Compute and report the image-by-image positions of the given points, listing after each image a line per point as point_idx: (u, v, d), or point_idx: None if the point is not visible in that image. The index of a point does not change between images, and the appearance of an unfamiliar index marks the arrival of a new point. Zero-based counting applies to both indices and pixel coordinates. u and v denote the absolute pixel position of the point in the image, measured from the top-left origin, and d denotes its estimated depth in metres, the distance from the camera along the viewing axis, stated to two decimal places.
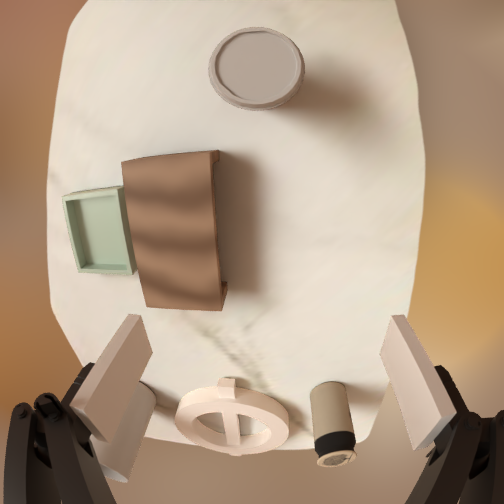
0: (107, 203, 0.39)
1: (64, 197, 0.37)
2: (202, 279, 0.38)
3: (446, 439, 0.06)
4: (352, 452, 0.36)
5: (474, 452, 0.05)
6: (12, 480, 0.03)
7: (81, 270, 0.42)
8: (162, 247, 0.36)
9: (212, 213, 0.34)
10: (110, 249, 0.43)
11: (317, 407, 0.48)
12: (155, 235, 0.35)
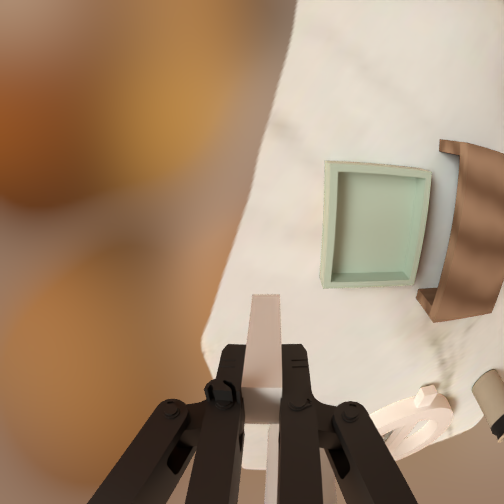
0: (394, 187, 0.28)
1: (336, 165, 0.25)
2: (493, 283, 0.26)
3: None
4: None
5: (315, 431, 0.07)
6: (120, 483, 0.05)
7: (330, 284, 0.31)
8: (480, 250, 0.24)
9: None
10: (379, 252, 0.31)
11: (490, 393, 0.36)
12: (479, 236, 0.24)
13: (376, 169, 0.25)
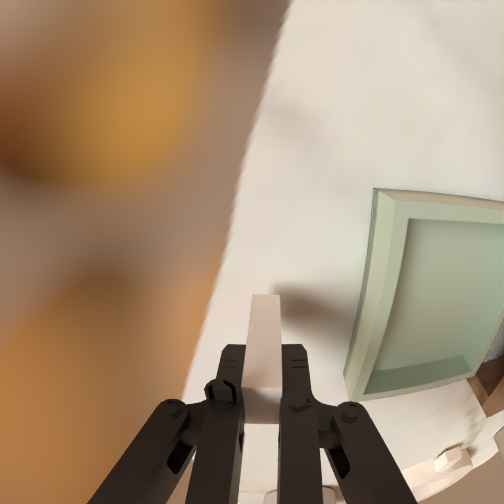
0: (479, 237, 0.13)
1: (407, 205, 0.11)
2: None
3: None
4: None
5: (315, 431, 0.07)
6: (120, 483, 0.05)
7: (362, 397, 0.16)
8: None
9: None
10: (438, 337, 0.17)
11: None
12: None
13: (471, 213, 0.11)
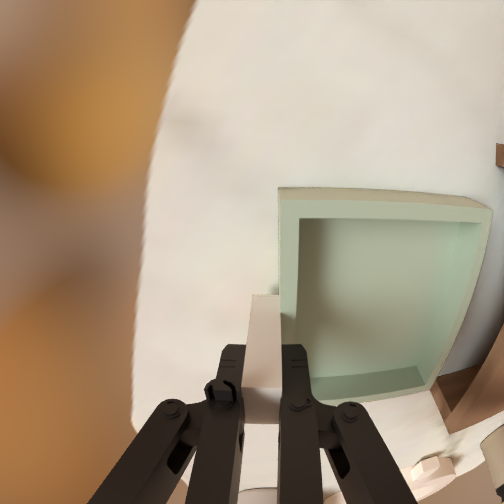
0: (421, 237, 0.14)
1: (296, 204, 0.11)
2: None
3: None
4: None
5: (316, 431, 0.07)
6: (120, 482, 0.05)
7: None
8: None
9: None
10: (380, 346, 0.17)
11: (500, 453, 0.22)
12: None
13: (390, 209, 0.11)
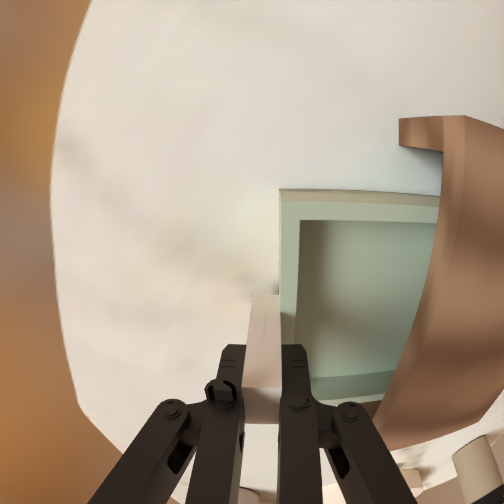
0: (421, 239, 0.14)
1: (297, 206, 0.11)
2: (489, 392, 0.12)
3: None
4: None
5: (315, 431, 0.07)
6: (120, 483, 0.05)
7: None
8: (472, 361, 0.11)
9: None
10: (379, 347, 0.17)
11: (472, 468, 0.22)
12: (475, 340, 0.10)
13: (390, 212, 0.11)
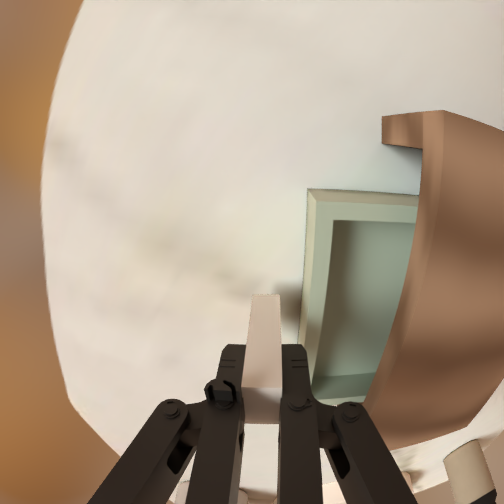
0: None
1: (331, 206, 0.11)
2: (477, 397, 0.13)
3: None
4: None
5: (315, 431, 0.07)
6: (119, 482, 0.05)
7: None
8: (457, 365, 0.11)
9: None
10: None
11: (463, 472, 0.23)
12: (458, 343, 0.10)
13: (416, 214, 0.11)
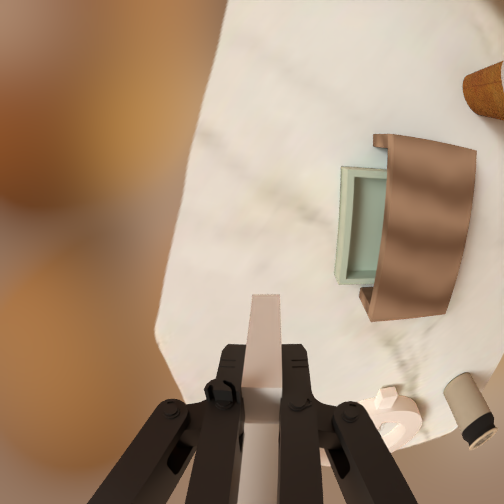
0: None
1: (353, 171, 0.28)
2: (443, 282, 0.29)
3: None
4: (497, 428, 0.27)
5: (315, 431, 0.07)
6: (120, 483, 0.05)
7: (345, 281, 0.33)
8: (420, 247, 0.27)
9: (470, 212, 0.25)
10: None
11: (461, 397, 0.39)
12: (416, 232, 0.27)
13: None
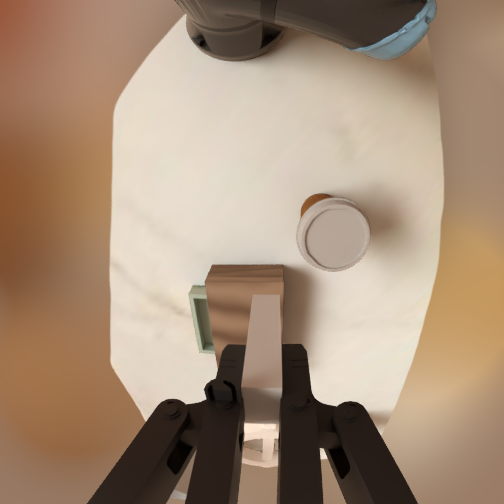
0: None
1: (192, 295, 0.47)
2: None
3: None
4: None
5: (315, 431, 0.07)
6: (120, 483, 0.05)
7: (203, 351, 0.52)
8: (239, 342, 0.46)
9: (282, 322, 0.44)
10: None
11: None
12: (234, 334, 0.46)
13: None
